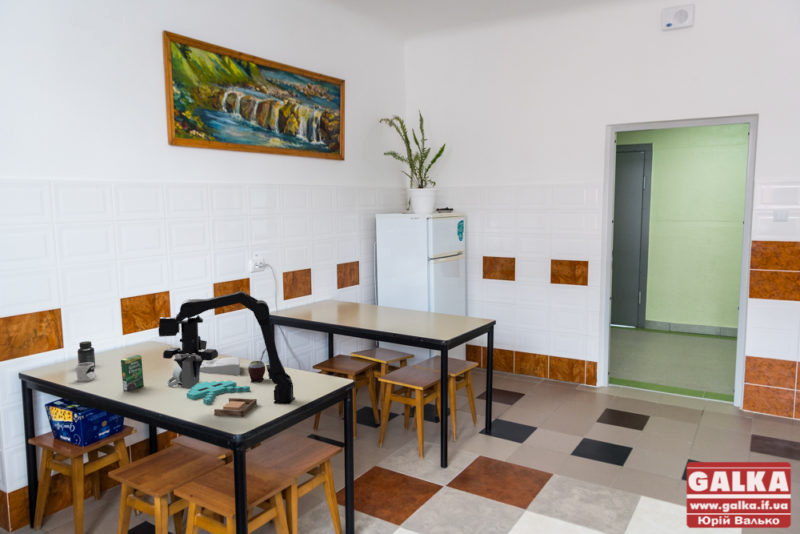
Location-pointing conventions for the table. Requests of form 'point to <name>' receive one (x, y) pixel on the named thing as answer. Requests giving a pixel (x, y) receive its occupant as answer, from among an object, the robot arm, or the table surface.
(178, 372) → the ceramic mug
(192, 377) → the grey matte slab
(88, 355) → the supplement bottle
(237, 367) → the ramp
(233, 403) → the terracotta tile
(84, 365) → the mug
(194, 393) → the alien figure
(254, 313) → the robot arm
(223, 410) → the walnut bay
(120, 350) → the table surface
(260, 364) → the mate gourd
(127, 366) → the coffee box
